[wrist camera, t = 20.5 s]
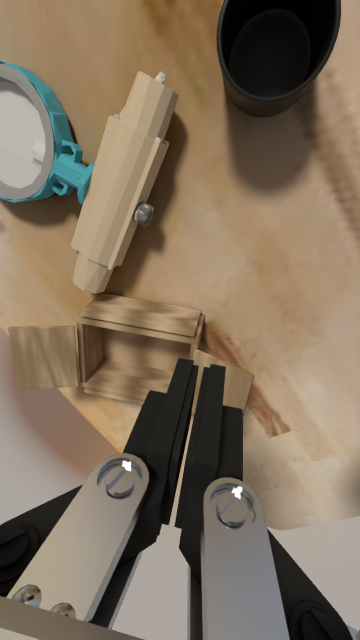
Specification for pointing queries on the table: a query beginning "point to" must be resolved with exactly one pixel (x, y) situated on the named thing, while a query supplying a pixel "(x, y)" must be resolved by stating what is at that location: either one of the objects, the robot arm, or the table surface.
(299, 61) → the mug
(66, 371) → the flap
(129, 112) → the butterfly valve
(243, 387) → the flap
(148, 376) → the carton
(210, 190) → the table surface
